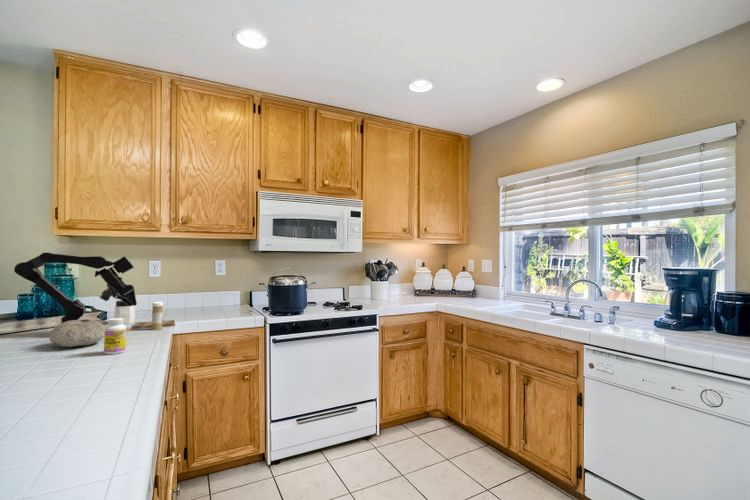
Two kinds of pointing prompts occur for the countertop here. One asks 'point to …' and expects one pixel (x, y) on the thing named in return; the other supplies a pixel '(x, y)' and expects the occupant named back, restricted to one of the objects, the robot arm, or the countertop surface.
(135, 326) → the board
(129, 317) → the jar
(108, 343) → the supplement bottle
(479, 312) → the countertop surface
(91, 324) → the grey rock
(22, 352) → the countertop surface
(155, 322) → the sprinkles bottle
